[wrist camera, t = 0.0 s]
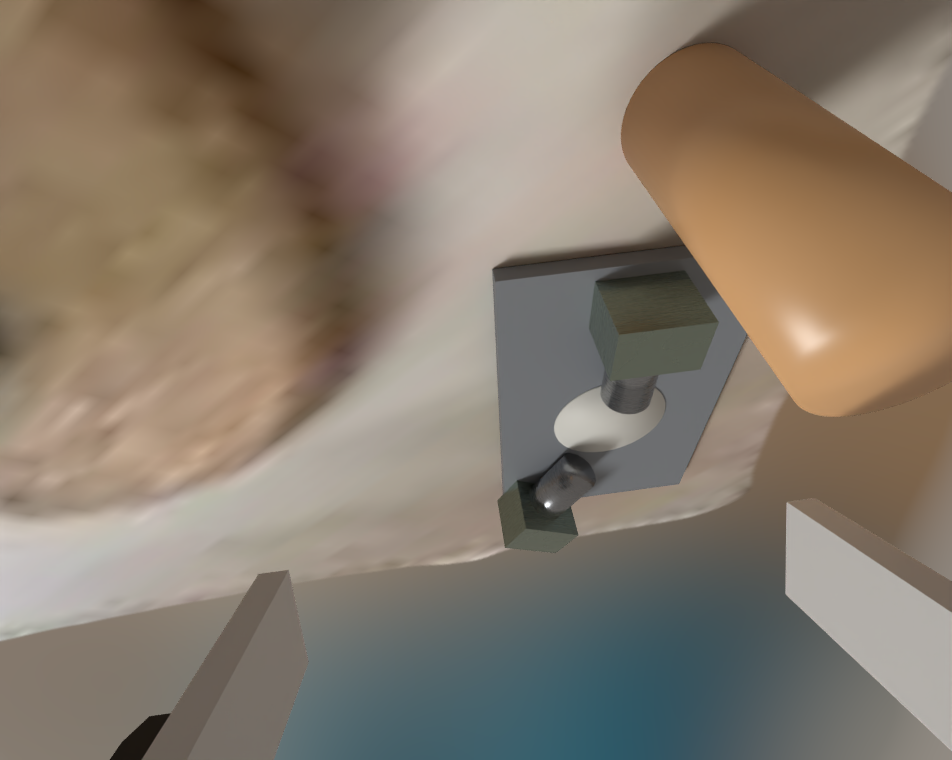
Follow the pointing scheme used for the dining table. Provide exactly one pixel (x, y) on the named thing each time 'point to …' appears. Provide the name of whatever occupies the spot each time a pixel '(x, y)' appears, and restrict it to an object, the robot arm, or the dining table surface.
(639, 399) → the shaft
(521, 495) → the shaft
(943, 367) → the orange cylinder
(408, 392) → the dining table surface
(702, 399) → the plate
